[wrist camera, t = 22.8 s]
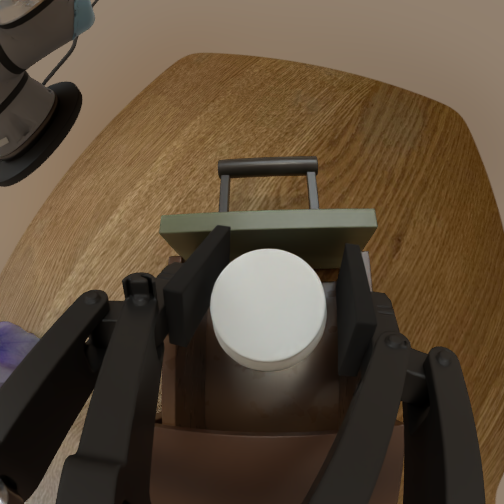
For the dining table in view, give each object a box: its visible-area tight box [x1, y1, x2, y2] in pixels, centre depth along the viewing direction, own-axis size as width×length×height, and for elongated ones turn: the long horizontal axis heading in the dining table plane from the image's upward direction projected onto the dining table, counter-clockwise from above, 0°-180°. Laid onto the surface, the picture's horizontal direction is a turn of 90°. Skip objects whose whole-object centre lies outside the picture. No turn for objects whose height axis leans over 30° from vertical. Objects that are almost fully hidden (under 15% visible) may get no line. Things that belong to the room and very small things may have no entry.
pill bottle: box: [210, 249, 327, 372], centre depth 17 cm, size 6×6×10 cm
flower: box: [0, 321, 40, 388], centre depth 21 cm, size 9×9×10 cm
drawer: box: [159, 156, 378, 432], centre depth 19 cm, size 21×12×8 cm, turn 0°
